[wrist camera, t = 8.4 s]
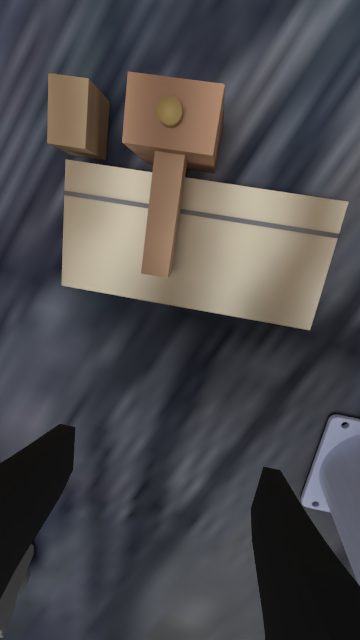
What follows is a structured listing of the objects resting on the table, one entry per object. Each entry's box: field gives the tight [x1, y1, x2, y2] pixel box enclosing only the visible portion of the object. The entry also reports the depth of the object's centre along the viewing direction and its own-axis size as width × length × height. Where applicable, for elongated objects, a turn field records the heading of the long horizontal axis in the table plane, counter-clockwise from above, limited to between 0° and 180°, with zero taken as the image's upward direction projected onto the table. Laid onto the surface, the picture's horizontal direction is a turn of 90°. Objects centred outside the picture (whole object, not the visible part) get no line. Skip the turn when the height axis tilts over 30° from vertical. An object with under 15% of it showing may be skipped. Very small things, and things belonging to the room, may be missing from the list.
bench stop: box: [47, 73, 110, 160], centre depth 17 cm, size 2×3×3 cm, turn 171°
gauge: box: [122, 72, 225, 278], centre depth 16 cm, size 4×8×6 cm, turn 172°
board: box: [62, 160, 348, 330], centre depth 18 cm, size 15×7×2 cm, turn 81°
